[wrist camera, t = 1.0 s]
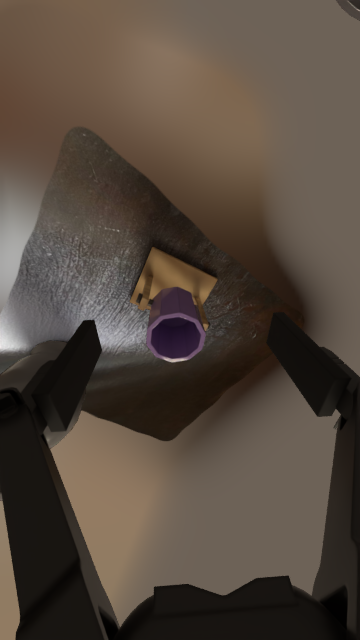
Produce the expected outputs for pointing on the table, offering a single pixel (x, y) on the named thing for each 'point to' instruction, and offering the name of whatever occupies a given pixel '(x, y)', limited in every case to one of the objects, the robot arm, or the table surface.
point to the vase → (23, 374)
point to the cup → (174, 325)
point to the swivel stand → (172, 281)
